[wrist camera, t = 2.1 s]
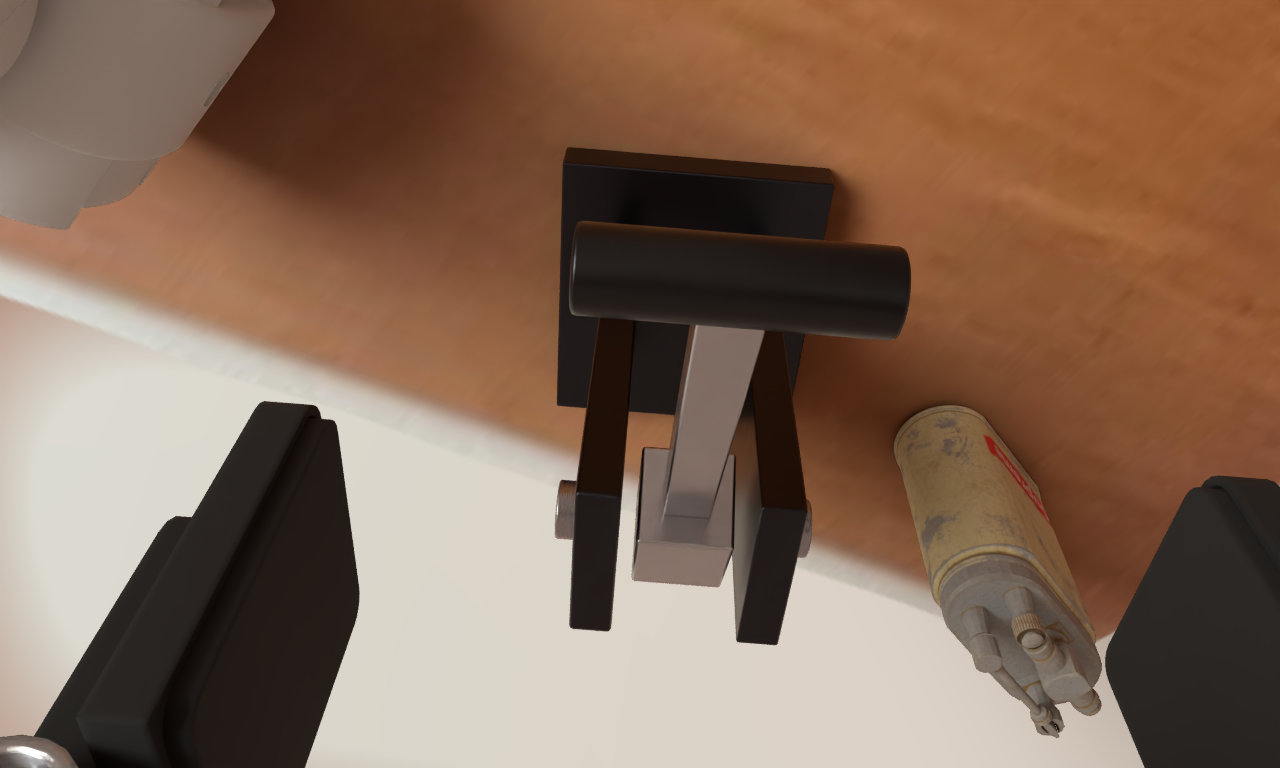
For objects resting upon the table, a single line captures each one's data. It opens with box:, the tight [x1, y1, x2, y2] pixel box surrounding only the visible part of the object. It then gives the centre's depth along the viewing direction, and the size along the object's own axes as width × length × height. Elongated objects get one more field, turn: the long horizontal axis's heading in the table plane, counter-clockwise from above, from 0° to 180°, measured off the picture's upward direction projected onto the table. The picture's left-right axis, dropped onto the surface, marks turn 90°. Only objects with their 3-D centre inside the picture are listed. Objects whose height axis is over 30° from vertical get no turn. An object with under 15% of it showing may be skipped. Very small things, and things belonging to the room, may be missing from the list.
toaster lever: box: [569, 221, 911, 587], centre depth 20 cm, size 12×5×2 cm, turn 176°
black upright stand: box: [555, 148, 834, 645], centre depth 28 cm, size 9×8×13 cm
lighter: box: [894, 405, 1102, 738], centre depth 33 cm, size 7×4×10 cm, turn 39°
